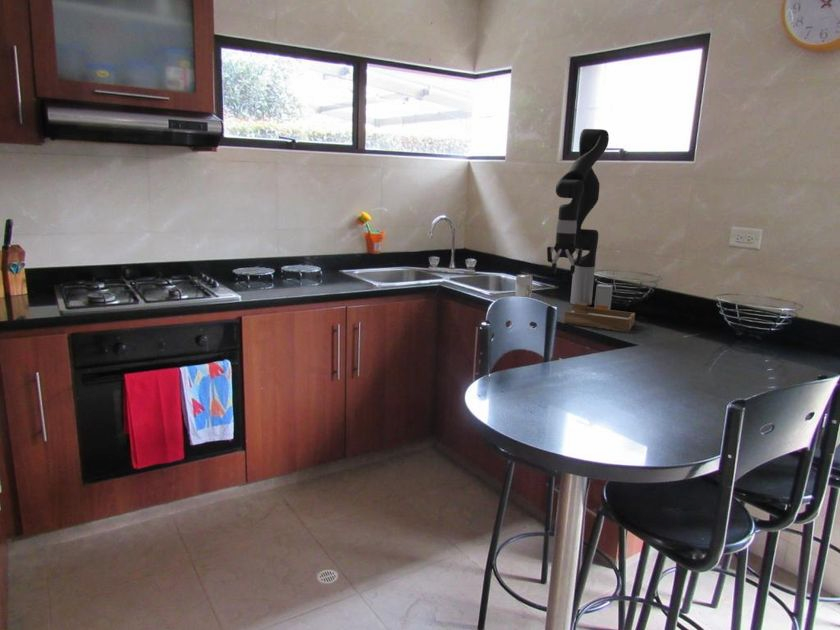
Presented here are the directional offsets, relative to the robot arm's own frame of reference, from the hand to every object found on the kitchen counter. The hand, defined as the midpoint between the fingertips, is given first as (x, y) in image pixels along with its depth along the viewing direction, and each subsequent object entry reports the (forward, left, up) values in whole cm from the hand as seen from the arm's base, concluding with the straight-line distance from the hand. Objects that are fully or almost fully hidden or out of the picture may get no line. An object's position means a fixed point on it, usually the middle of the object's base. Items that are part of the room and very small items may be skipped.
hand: (562, 273), depth 244 cm
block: (0, +8, -15) cm, 17 cm away
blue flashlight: (-2, -16, -18) cm, 24 cm away
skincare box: (-17, +14, -18) cm, 28 cm away
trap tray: (+3, +16, -18) cm, 24 cm away
